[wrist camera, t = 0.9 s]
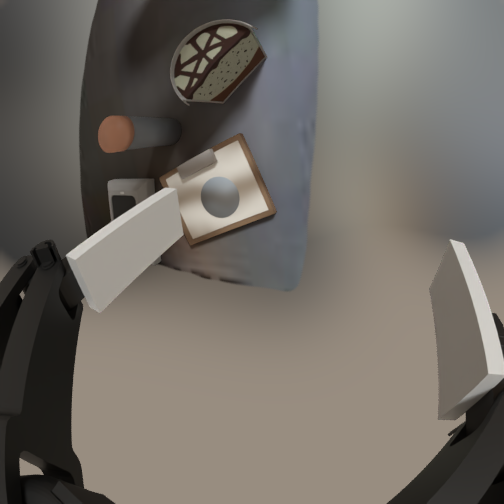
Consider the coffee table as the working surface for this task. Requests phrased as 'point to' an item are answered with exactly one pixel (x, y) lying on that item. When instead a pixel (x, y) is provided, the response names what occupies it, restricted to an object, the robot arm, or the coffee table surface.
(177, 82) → the food container
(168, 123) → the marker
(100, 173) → the coffee table surface
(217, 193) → the clipboard
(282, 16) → the coffee table surface
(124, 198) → the grey framed panel
